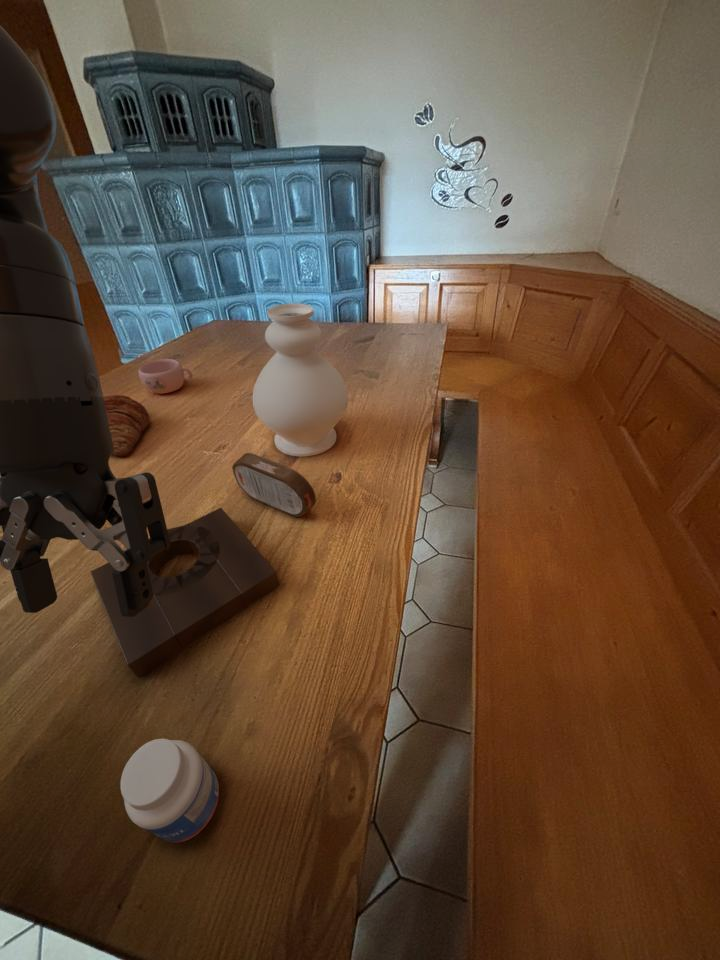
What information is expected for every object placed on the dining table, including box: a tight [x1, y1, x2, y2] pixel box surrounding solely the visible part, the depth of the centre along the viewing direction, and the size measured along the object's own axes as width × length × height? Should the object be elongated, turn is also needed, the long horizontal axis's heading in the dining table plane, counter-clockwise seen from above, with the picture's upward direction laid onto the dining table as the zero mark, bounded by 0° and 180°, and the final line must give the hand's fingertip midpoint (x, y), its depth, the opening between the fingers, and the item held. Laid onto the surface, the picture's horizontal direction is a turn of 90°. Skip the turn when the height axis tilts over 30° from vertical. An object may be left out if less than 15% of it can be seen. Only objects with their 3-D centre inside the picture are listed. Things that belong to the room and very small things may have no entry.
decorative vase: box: [251, 302, 349, 458], centre depth 70 cm, size 18×18×25 cm
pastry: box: [103, 394, 151, 457], centre depth 78 cm, size 17×15×8 cm
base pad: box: [90, 507, 280, 678], centre depth 50 cm, size 18×17×3 cm
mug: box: [137, 358, 193, 394], centre depth 95 cm, size 12×10×6 cm
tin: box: [231, 452, 317, 518], centre depth 60 cm, size 15×3×8 cm, turn 59°
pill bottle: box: [119, 738, 220, 843], centre depth 30 cm, size 6×5×10 cm
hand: (88, 609), depth 30 cm, fingers open, 8 cm apart
